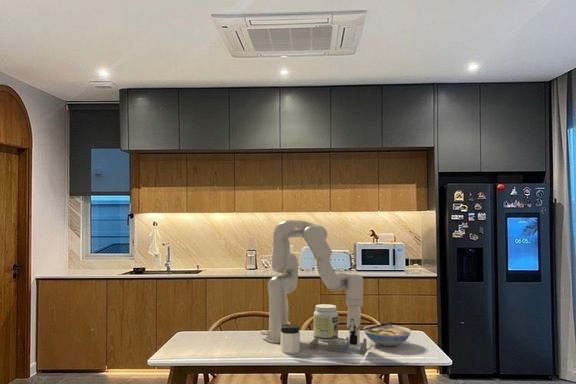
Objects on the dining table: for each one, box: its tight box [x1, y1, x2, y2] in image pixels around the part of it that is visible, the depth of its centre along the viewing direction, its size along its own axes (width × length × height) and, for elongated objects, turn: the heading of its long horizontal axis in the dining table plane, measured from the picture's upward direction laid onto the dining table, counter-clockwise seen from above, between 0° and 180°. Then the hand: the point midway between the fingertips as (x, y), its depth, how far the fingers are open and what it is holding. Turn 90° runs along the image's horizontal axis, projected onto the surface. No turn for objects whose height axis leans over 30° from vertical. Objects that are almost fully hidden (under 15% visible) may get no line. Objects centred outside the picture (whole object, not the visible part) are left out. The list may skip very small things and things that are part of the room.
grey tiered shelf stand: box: [309, 336, 367, 355], centre depth 228 cm, size 24×10×6 cm, turn 73°
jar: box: [279, 323, 301, 354], centre depth 225 cm, size 9×8×12 cm
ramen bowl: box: [360, 321, 413, 348], centre depth 240 cm, size 25×23×8 cm
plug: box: [348, 328, 361, 348], centre depth 226 cm, size 4×4×8 cm
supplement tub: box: [313, 303, 339, 342], centre depth 248 cm, size 12×12×17 cm
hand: (354, 342), depth 226 cm, fingers closed on plug, 3 cm apart
